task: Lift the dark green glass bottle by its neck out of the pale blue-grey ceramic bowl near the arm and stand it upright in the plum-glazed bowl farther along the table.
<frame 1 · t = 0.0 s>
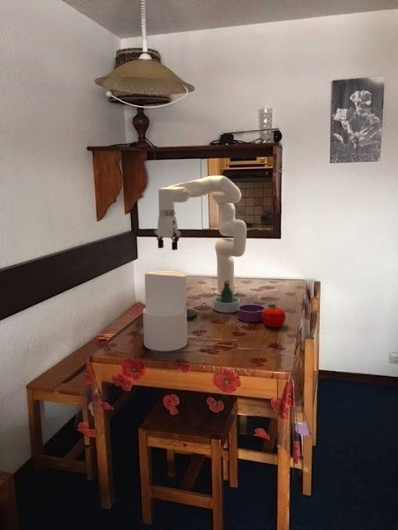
hand: (167, 248, 223), 31 cm above the table, tool pointing down, fingers open, 9 cm apart
pale bowl: (226, 309, 229), on the table
casserole: (170, 317, 218), on the table
plum bowl: (251, 318, 214), on the table
apple: (273, 325, 204), on the table
cylinder: (165, 343, 183), on the table
bottle: (226, 308, 229), point 1 cm above the table, touching pale bowl
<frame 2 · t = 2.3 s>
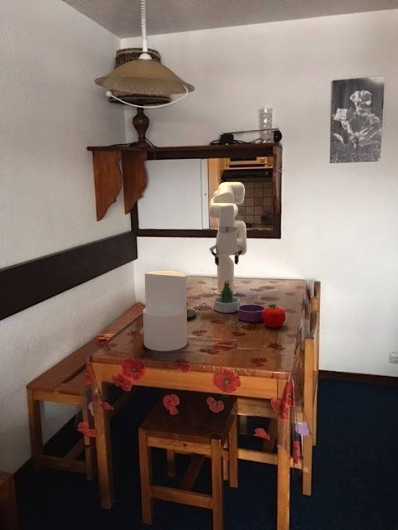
hand: (226, 264, 224), 23 cm above the table, tool pointing down, fingers open, 9 cm apart
nothing on the table moved.
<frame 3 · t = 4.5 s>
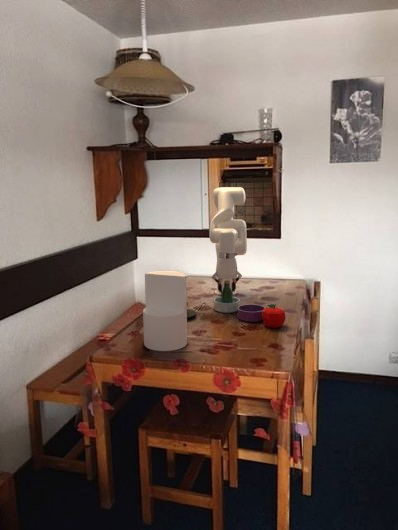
hand: (226, 290, 227), 10 cm above the table, tool pointing down, fingers closed on bottle, 6 cm apart
bottle: (226, 308, 229), point 1 cm above the table, touching gripper, pale bowl
everything else where it was.
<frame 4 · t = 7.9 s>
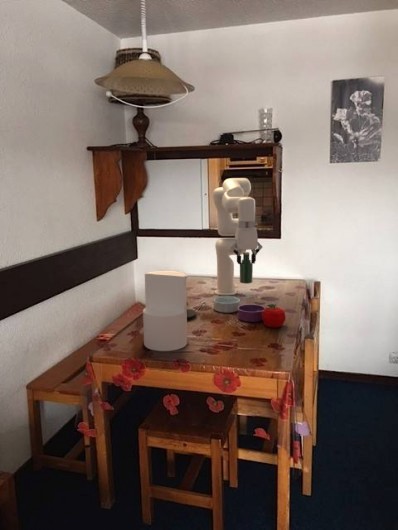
hand: (246, 263, 213), 26 cm above the table, tool pointing down, fingers closed on bottle, 6 cm apart
bottle: (246, 281, 214), point 17 cm above the table, touching gripper
everything else where it was.
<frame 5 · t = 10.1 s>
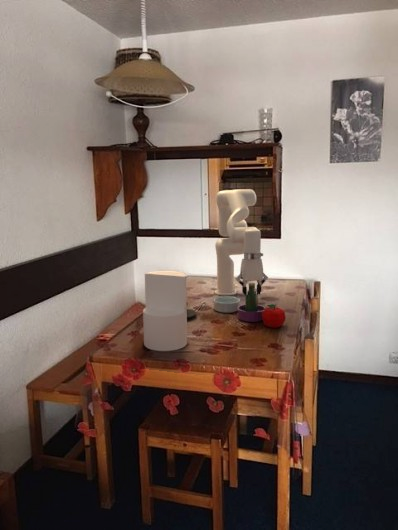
hand: (251, 293, 212), 12 cm above the table, tool pointing down, fingers closed on bottle, 6 cm apart
bottle: (251, 312, 214), point 3 cm above the table, touching gripper
everything else where it was.
when the fingers open (10 cm above the table, at t = 11.3 s): bottle stays where it is, resting on plum bowl.
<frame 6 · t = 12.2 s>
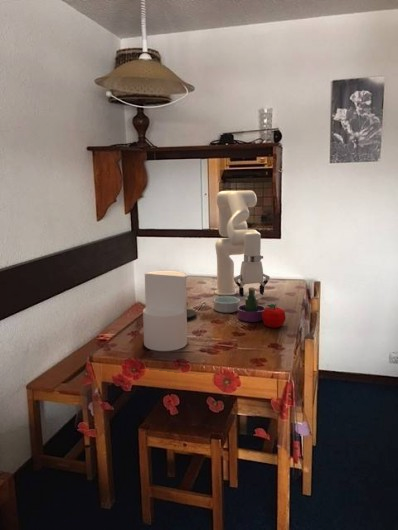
hand: (251, 294, 212), 11 cm above the table, tool pointing down, fingers open, 9 cm apart
bottle: (251, 317, 214), point 1 cm above the table, touching plum bowl
everything else where it was.
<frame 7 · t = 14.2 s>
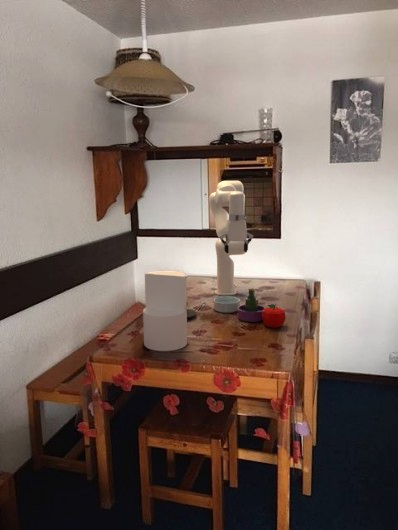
hand: (236, 252, 227), 28 cm above the table, tool pointing down, fingers open, 9 cm apart
nothing on the table moved.
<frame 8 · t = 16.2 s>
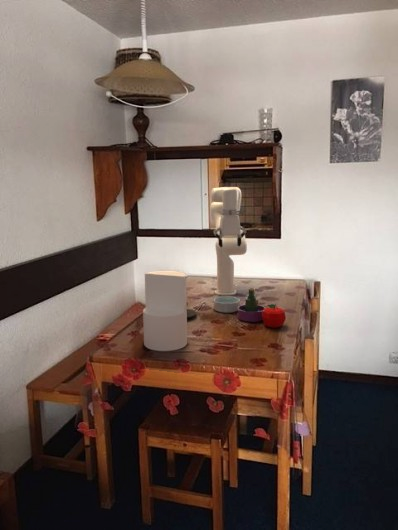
hand: (229, 246, 235), 30 cm above the table, tool pointing down, fingers open, 9 cm apart
nothing on the table moved.
at the end: bottle 0.0 cm off-centre in the plum bowl, point 0.6 cm above the plum bowl's base; bottle tilted 0°; the gripper is holding nothing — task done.
